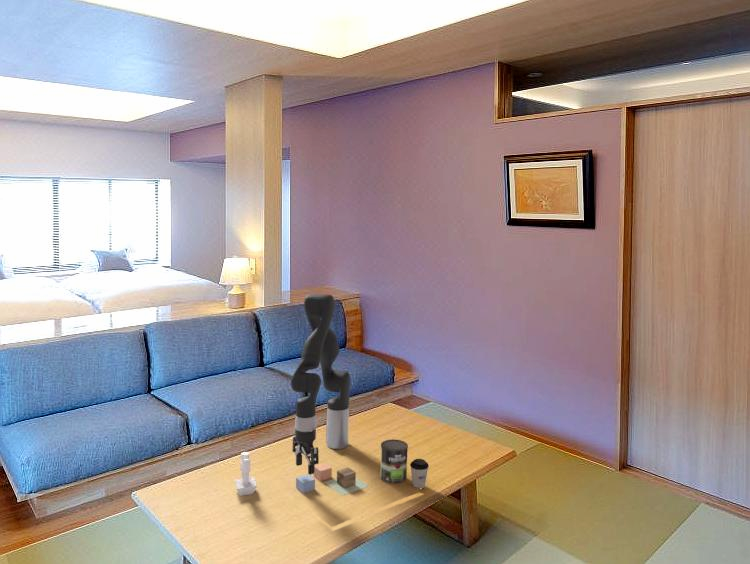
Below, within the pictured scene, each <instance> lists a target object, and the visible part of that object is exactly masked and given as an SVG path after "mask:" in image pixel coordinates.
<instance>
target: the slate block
mask: <svg viewBox="0 0 750 564" xmlns="http://www.w3.org/2000/svg"><path fill="white" fill-rule="evenodd" d="M295 489H297V490H298V491H299V492H301V493H302V494H306V493H308V492H311V491H315V490H316V478H315V477H314V476H313V477H312V475H309V474H308V473H307V474H304V475H300V476H297V477H295Z"/></svg>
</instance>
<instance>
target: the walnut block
mask: <svg viewBox="0 0 750 564" xmlns="http://www.w3.org/2000/svg"><path fill="white" fill-rule="evenodd" d="M356 475H357V472H356V471H354V470H353V469H352V468H350V467H349V466H347V467H344V468H341V469H338V470H336V478H337V484H339V485H340V486H341V487H343V488H344V489H345V488H348V487H351V486H354V485H356V478H357V477H356Z"/></svg>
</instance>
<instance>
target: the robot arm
mask: <svg viewBox="0 0 750 564" xmlns="http://www.w3.org/2000/svg"><path fill="white" fill-rule="evenodd" d="M303 302H304V304H303V307H304V312H305V316H306V319H307V321H308V324H309V326H310V329H311V332H312V333H311V334H310V335H309V336H308V337H307V339H306V340H305V342H304V344H303V346H302V352H301V356H300V361H299V363H298V365H297V367H296V369H295V371H294V372H293V375H292V377H291V379H290V388H291V390H292V391H293V392H295V393H307V394H309V395H308V396H303V397H300V398H298V399H297V400H296V402H295V419H294V436H293V437H292V452H293V453H294V455H295V465H296V466H302V465H303V455H304V459H305V460H307V463H308V465H307V468H308V469H307V471H308V472H307V474H308V475H310V476H312V475H313V474H314V472H315V466H316V465H319V464H320V462H319V461H320V460H319V457H320V456H319V447H314V442H315V441H316V438H317V417H316V416H317V415H316V409H317V408H316V406H317V398H318V394H319V391H320V388H321V385H322V381H323V386H324V388H325V390H326V391H328V392H333V393H339V396H335V397H332V398H329V399H328V400H327V402H326V403H327V404H326V405H327V406H326V410H327V412H326V414H327V415H326V417H327V420H326V423H325V443H326V447H328V448H329V449H332V450H333V449H334V450H341V449H346V448H347V447H348V445H349V420H350V419H349V414H350V413H349V411H350V410H349V409H350V407H349V406H350V392H351V390H350V388H351V375H350V372H348V371H345V370H338V369H337V370H336V369H334V368H333V367H332V366H333V364H334V362H335V361H336V359H337V358H338V356H339V354H340V344H339V340H338V336H337V335H336V333H335V332H334V331H333V330H332V329H331V328H330V326H331V322H332V320H333V316H334V313H335V309H336V308H335V306H336V302H335V299H334V297H333V295H332V294H327V293H326V294H325V293H319V294H318V293H317V294H316V293H314V294H313V293H311V294H307V295H306V296H305V298H304V301H303ZM319 366H320V368H321V374H322V375H321V376H322V379H321V377H320V375H319V374H317V373H313V372H308V371H311V370H315V369H316V370H317V369H318V368H319Z"/></svg>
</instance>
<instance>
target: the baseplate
mask: <svg viewBox="0 0 750 564" xmlns="http://www.w3.org/2000/svg"><path fill="white" fill-rule="evenodd" d="M323 483H324V484H325V485H327V486H328V487H329V488H331V489H333V490H334V491H335V492H336V493H338V494H339V495H340V496H346V495H348V494H351V493H353V492H356V491H359V490H362V489H364V488H366V487H367V488H368V487H369V485H368V484H367V483H366V482H364V481H362V480H360V479H359V478H358V477H356V485H354V486H351V487H348V488H345V489H344V488H343V487H341V486H340V485H339V484H337V477H335V478H333V479H329V480H327V481H324V482H323Z"/></svg>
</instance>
